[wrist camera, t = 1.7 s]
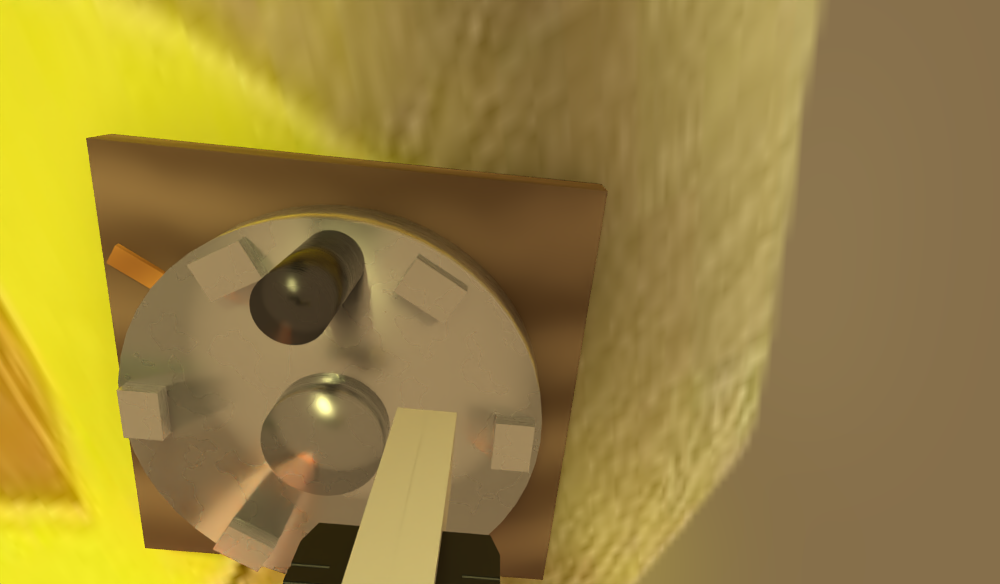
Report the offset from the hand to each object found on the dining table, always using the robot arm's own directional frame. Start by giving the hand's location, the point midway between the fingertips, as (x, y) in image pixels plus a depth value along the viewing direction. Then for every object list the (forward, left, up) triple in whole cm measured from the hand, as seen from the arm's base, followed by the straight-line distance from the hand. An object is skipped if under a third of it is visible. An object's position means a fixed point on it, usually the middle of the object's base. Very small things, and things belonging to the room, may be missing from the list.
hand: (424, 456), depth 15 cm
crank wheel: (+9, -6, -17) cm, 20 cm away
